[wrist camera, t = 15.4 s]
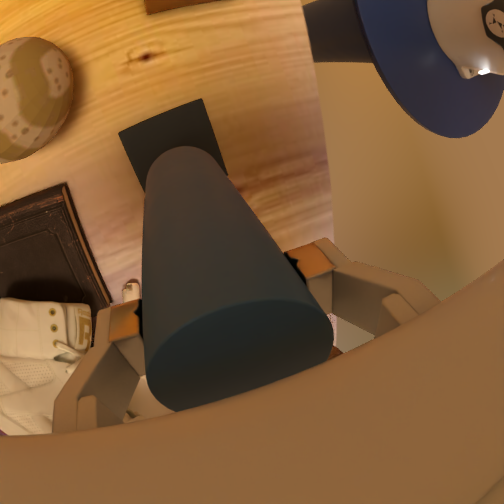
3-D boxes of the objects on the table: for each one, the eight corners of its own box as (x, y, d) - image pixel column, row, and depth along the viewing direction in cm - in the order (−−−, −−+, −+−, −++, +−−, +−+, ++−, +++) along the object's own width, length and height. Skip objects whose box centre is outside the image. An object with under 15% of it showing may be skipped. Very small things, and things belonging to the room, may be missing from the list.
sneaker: (213, 524, 16) (254, 342, 23) (-53, 398, 14) (-19, 252, 21) (209, 483, 26) (238, 351, 33) (-2, 399, 24) (26, 283, 31)
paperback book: (112, 300, 34) (111, 313, 32) (-13, 328, 30) (-18, 339, 28) (66, 180, 25) (60, 188, 23) (-65, 237, 21) (-74, 246, 19)
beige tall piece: (157, 420, 37) (144, 285, 40) (200, 439, 31) (185, 281, 34) (94, 437, 29) (74, 284, 32) (129, 466, 23) (103, 278, 26)
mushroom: (-64, 114, 13) (-27, 21, 7) (12, 85, 21) (85, 10, 15) (-40, 205, 18) (-3, 161, 12) (33, 163, 26) (112, 115, 20)
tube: (277, 349, 18) (381, 411, 5) (204, 373, 18) (169, 485, 5) (213, 163, 20) (210, -2, 8) (148, 182, 20) (78, 34, 7)
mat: (201, 98, 26) (202, 98, 25) (226, 173, 31) (228, 175, 30) (118, 132, 25) (117, 133, 24) (151, 205, 30) (151, 207, 29)
